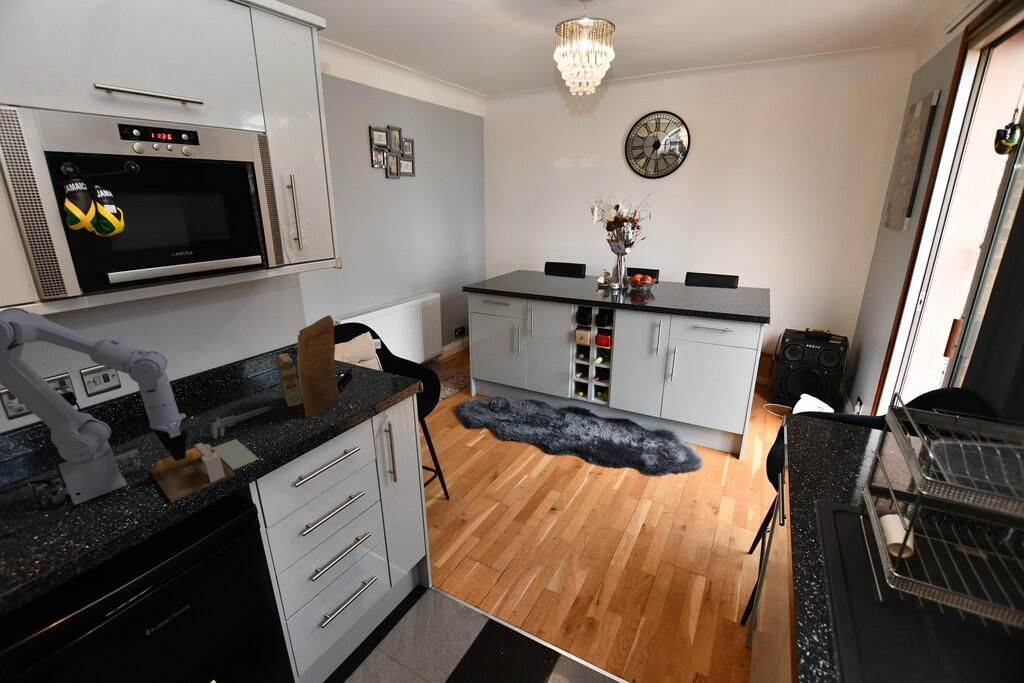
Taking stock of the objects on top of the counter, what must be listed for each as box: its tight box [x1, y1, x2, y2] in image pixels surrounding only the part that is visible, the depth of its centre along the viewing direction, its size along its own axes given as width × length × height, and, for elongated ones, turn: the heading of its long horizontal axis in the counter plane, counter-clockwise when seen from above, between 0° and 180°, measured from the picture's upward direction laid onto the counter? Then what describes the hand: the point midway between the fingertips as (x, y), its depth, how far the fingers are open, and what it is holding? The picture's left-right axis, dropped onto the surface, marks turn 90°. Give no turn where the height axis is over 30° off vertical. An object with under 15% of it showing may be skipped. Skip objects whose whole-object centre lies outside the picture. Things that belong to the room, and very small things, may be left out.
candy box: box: [274, 352, 303, 408], centre depth 149 cm, size 9×4×15 cm, turn 36°
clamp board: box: [149, 450, 235, 503], centre depth 113 cm, size 13×19×3 cm
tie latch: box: [194, 442, 225, 482], centre depth 111 cm, size 3×11×6 cm, turn 48°
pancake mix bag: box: [296, 315, 341, 418], centre depth 142 cm, size 7×19×28 cm, turn 164°
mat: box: [212, 438, 259, 471], centre depth 121 cm, size 6×16×1 cm, turn 48°
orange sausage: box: [154, 443, 213, 472], centre depth 114 cm, size 12×3×3 cm, turn 138°
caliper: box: [210, 406, 273, 440], centre depth 137 cm, size 20×1×6 cm, turn 162°
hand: (175, 453), depth 113 cm, fingers open, 7 cm apart
